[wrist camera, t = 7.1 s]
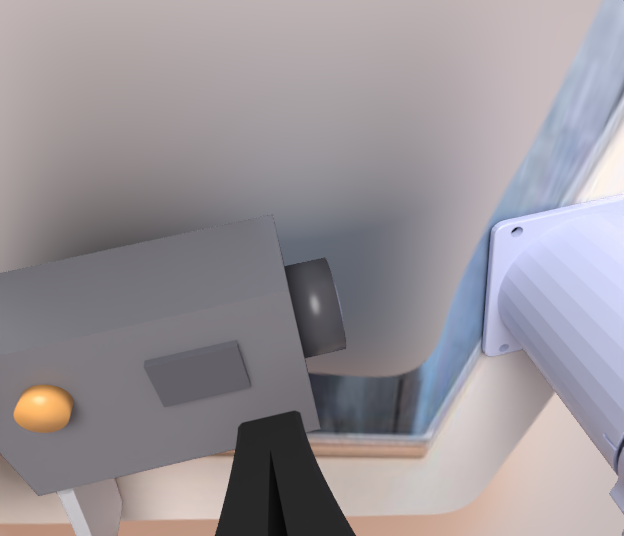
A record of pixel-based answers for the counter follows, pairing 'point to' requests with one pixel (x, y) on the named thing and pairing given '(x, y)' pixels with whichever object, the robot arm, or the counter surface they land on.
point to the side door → (93, 508)
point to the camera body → (157, 352)
